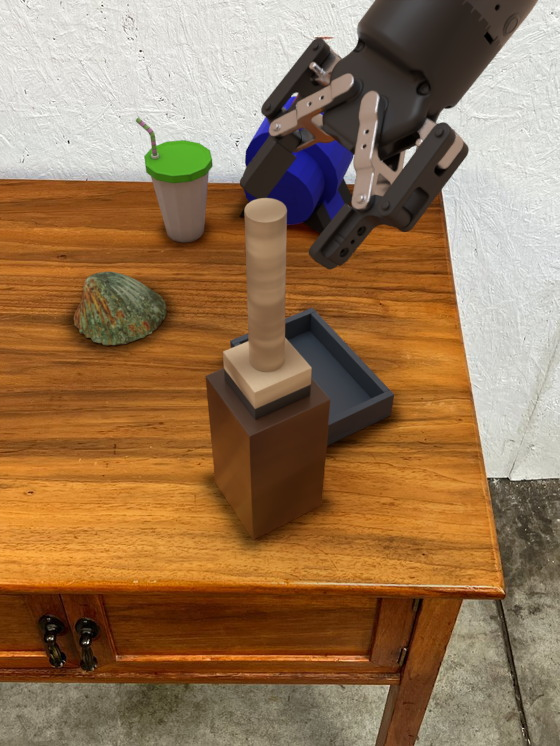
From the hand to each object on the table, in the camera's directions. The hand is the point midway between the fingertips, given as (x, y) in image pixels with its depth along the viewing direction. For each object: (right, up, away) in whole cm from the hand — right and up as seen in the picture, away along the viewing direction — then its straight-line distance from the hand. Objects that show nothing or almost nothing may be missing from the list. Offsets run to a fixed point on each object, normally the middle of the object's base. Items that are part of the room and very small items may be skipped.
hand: (283, 226), depth 49 cm
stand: (-1, -20, +20) cm, 28 cm away
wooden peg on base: (-1, -10, +10) cm, 14 cm away
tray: (+3, -11, +29) cm, 31 cm away
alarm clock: (+2, +11, +50) cm, 52 cm away
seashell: (-18, -3, +37) cm, 41 cm away
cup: (-12, +8, +47) cm, 49 cm away
